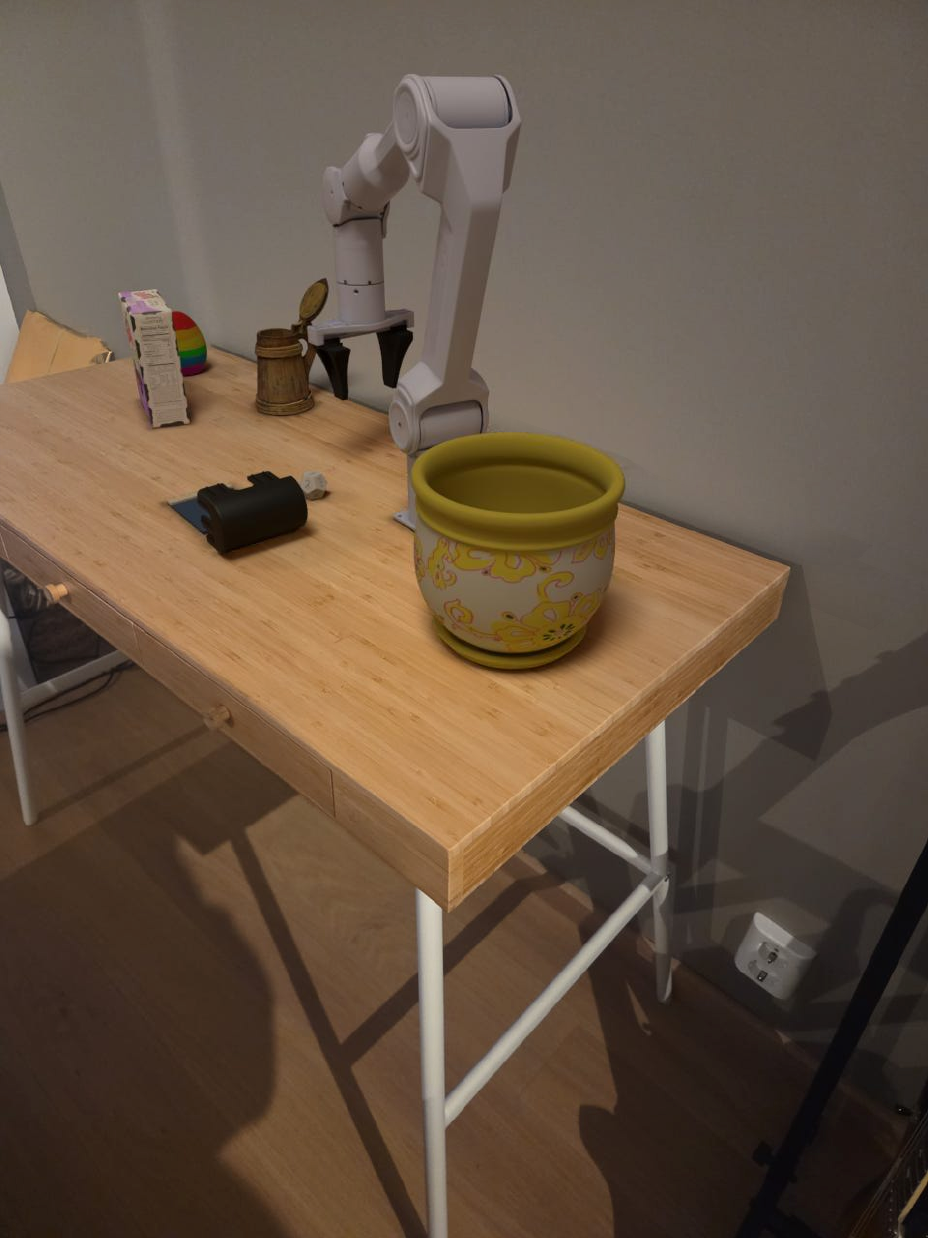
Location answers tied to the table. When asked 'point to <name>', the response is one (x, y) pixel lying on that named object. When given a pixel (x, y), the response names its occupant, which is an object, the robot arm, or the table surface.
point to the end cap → (252, 511)
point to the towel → (190, 509)
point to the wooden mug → (288, 359)
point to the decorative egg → (189, 344)
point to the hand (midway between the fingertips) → (366, 392)
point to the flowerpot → (514, 543)
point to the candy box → (155, 357)
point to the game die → (313, 484)
